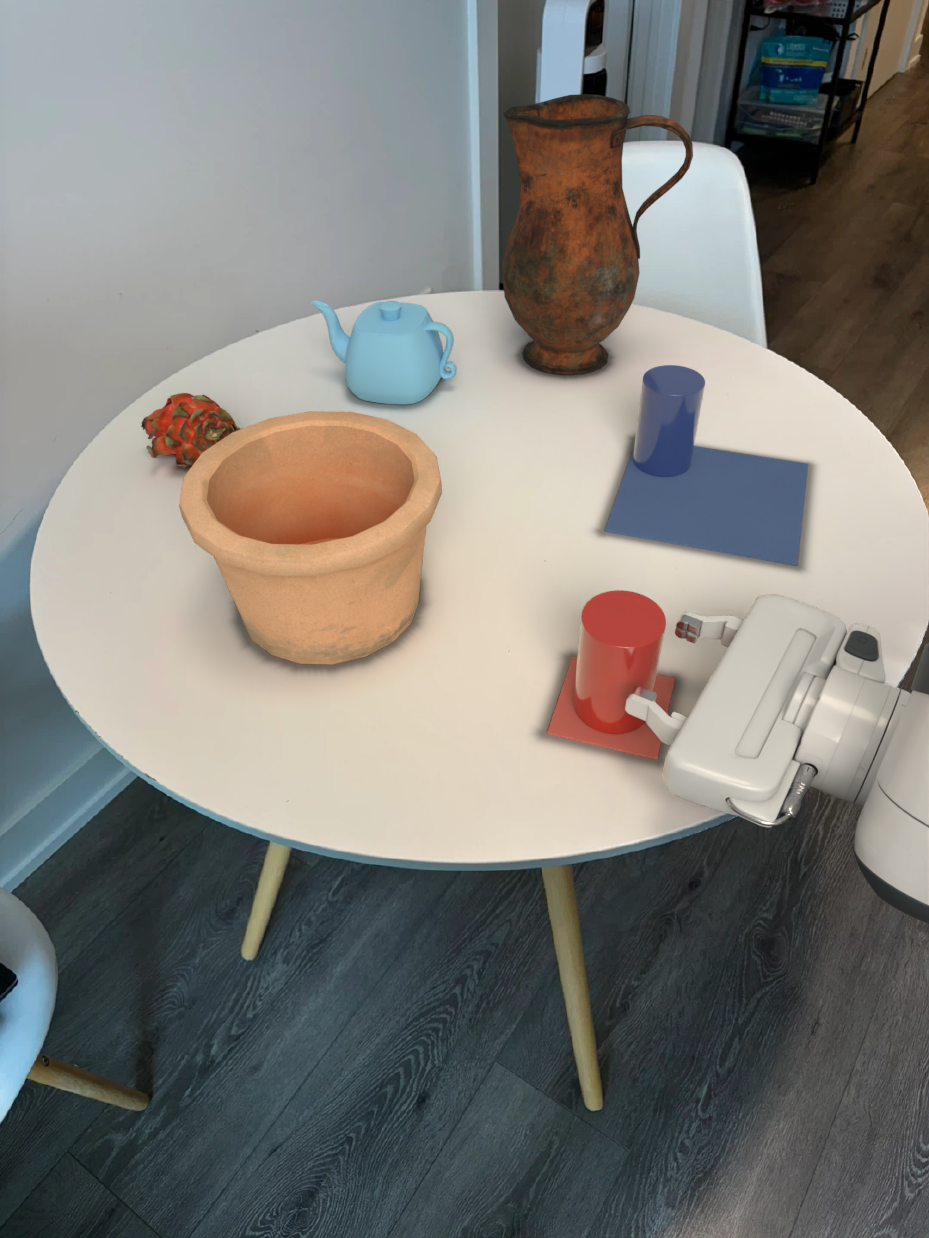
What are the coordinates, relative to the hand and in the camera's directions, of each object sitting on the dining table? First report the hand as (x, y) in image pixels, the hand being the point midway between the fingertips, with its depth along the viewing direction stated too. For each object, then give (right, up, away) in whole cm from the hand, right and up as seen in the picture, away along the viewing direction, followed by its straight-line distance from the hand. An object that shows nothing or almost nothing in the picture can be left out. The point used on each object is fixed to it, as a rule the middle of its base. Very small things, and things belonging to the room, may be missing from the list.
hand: (655, 658), depth 72 cm
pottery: (-27, +4, +16) cm, 32 cm away
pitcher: (0, +37, +49) cm, 62 cm away
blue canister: (+7, +21, +31) cm, 38 cm away
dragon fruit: (-46, +21, +34) cm, 61 cm away
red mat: (-2, -4, +6) cm, 8 cm away
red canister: (-3, -4, +5) cm, 7 cm away
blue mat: (+11, +16, +27) cm, 33 cm away
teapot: (-25, +33, +46) cm, 61 cm away
